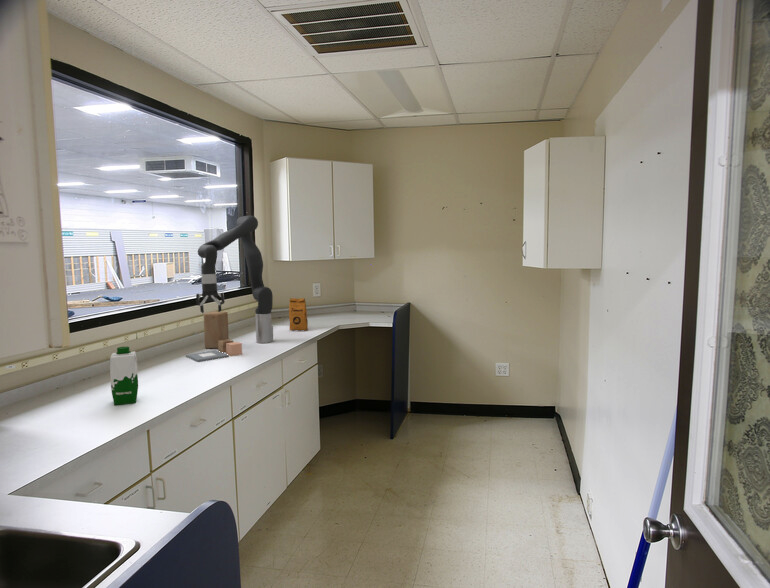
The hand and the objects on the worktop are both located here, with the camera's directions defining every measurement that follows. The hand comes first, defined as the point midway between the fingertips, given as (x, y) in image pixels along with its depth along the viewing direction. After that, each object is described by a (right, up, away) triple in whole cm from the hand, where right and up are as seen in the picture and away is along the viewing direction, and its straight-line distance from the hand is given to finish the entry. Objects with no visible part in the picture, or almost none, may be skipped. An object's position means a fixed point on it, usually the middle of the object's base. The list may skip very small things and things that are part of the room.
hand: (211, 312), depth 262 cm
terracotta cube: (+14, -22, -3) cm, 26 cm away
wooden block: (-2, -21, +15) cm, 25 cm away
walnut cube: (+7, -22, +4) cm, 23 cm away
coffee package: (+35, -15, +69) cm, 79 cm away
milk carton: (-3, -30, -82) cm, 87 cm away
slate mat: (+1, -23, -9) cm, 25 cm away
